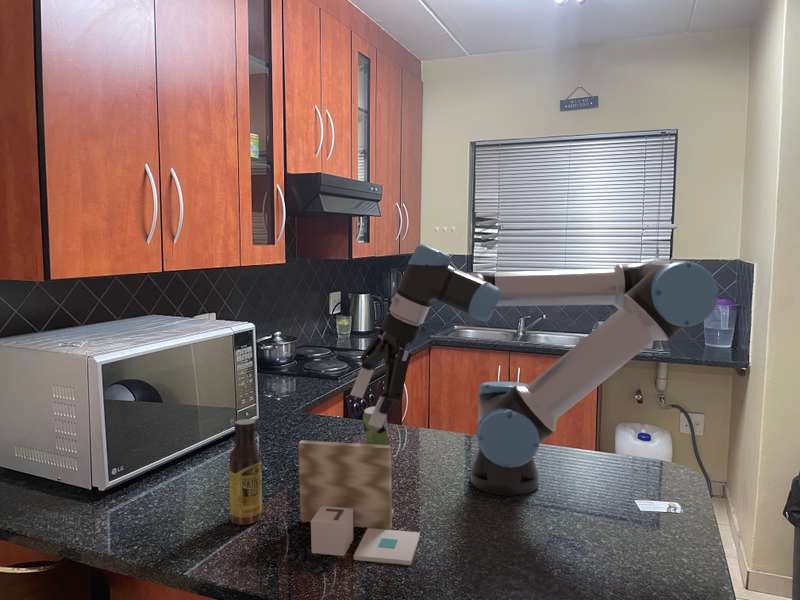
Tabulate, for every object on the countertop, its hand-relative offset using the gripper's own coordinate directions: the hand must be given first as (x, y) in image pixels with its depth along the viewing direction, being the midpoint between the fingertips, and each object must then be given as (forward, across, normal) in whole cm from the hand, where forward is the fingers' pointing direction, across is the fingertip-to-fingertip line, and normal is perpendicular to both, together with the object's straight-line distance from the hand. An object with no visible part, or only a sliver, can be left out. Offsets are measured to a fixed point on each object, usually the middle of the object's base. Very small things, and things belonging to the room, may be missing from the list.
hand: (364, 410), depth 125 cm
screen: (+19, +10, +1) cm, 21 cm away
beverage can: (+19, -22, +19) cm, 35 cm away
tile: (+15, +24, +4) cm, 28 cm away
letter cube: (+19, +20, -5) cm, 28 cm away
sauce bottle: (+27, +4, -16) cm, 32 cm away
